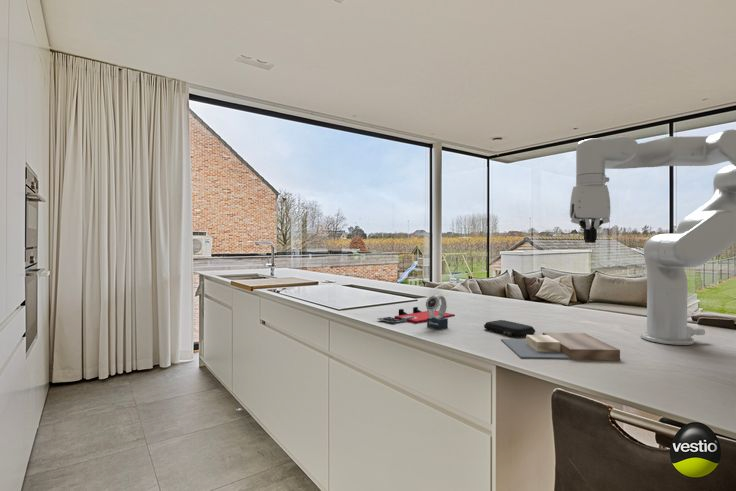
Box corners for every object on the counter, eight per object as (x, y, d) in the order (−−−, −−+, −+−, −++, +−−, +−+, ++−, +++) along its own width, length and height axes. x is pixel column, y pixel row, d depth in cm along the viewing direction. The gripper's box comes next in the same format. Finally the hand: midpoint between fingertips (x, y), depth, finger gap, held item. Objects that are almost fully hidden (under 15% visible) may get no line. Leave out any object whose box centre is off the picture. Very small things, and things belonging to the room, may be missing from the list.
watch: (423, 327, 134) (423, 295, 134) (438, 324, 139) (438, 293, 139) (436, 330, 129) (436, 297, 129) (451, 326, 135) (451, 295, 135)
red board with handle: (373, 320, 147) (401, 327, 135) (373, 313, 147) (402, 319, 135) (425, 312, 166) (454, 318, 155) (425, 305, 166) (454, 311, 155)
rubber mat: (542, 340, 115) (542, 339, 115) (570, 359, 97) (570, 357, 97) (501, 340, 116) (501, 339, 116) (520, 358, 98) (520, 356, 98)
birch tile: (547, 343, 110) (547, 335, 110) (560, 351, 102) (560, 342, 102) (526, 343, 111) (526, 334, 111) (537, 351, 103) (537, 342, 103)
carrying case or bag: (478, 330, 130) (515, 340, 118) (478, 321, 130) (515, 330, 118) (500, 327, 136) (538, 335, 123) (500, 318, 136) (538, 326, 123)
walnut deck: (584, 341, 115) (584, 333, 115) (620, 359, 97) (620, 349, 97) (542, 340, 115) (542, 332, 115) (570, 359, 97) (570, 349, 97)
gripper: (609, 183, 120) (609, 242, 120) (559, 183, 121) (559, 242, 121) (623, 179, 113) (623, 242, 113) (570, 179, 114) (570, 242, 114)
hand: (590, 242), depth 117 cm, fingers closed
